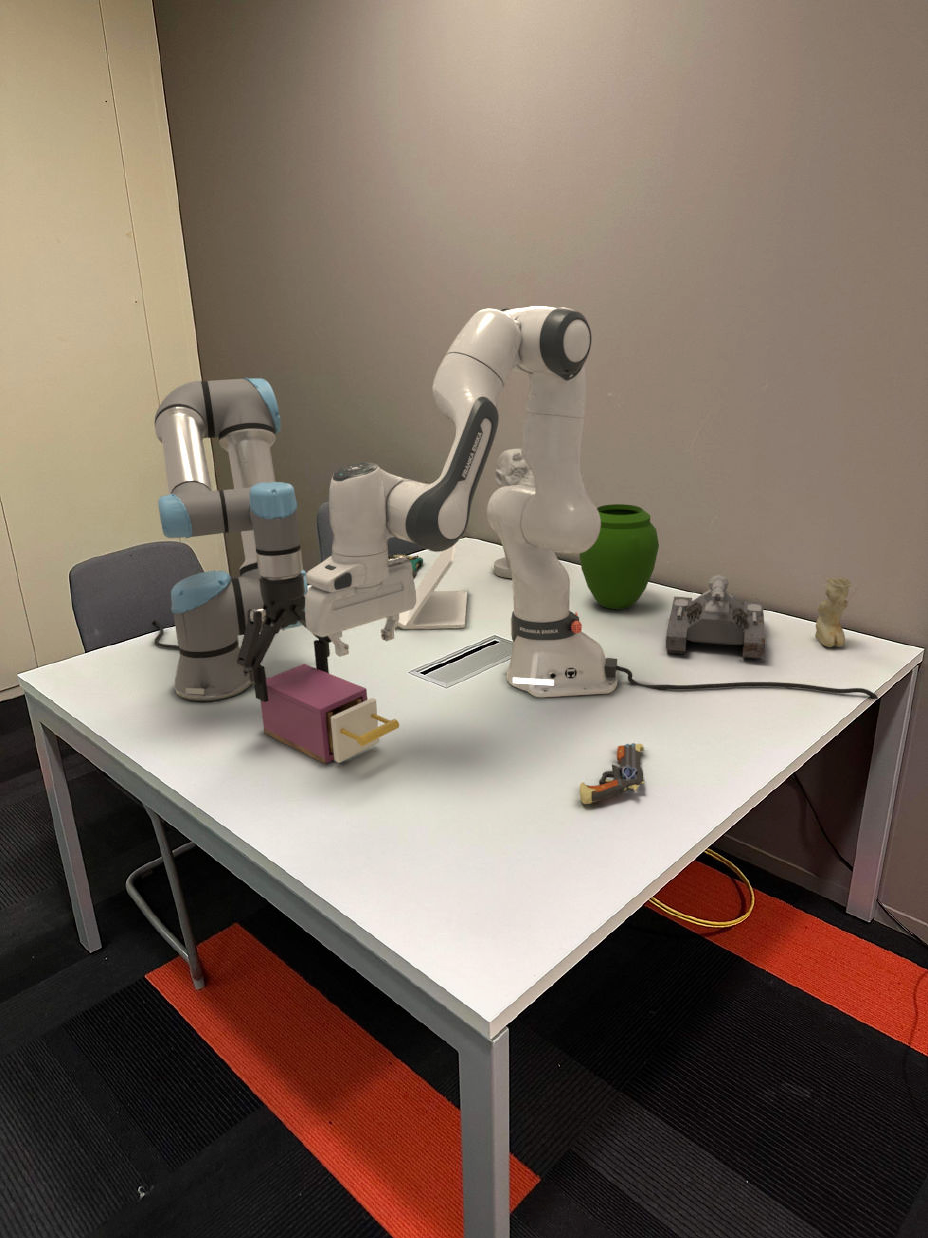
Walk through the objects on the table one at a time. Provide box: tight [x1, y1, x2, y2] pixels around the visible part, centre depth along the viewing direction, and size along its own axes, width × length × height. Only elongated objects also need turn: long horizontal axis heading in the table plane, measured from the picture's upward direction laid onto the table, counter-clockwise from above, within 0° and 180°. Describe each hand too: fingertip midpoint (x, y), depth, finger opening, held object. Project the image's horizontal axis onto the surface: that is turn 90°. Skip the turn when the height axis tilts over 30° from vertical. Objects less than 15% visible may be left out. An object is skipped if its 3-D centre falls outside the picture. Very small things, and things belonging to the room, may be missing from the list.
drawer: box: [326, 697, 400, 764], centre depth 148 cm, size 22×9×8 cm, turn 48°
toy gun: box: [579, 742, 645, 805], centre depth 138 cm, size 3×19×10 cm
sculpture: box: [814, 576, 852, 648], centre depth 185 cm, size 6×7×15 cm
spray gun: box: [388, 553, 424, 576], centre depth 246 cm, size 4×17×15 cm
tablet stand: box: [396, 542, 468, 630], centre depth 211 cm, size 18×25×17 cm
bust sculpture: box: [485, 448, 535, 579], centre depth 231 cm, size 16×24×35 cm
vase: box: [578, 503, 660, 610], centre depth 210 cm, size 20×20×24 cm
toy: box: [665, 574, 766, 660], centre depth 189 cm, size 25×20×15 cm
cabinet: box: [259, 663, 368, 765], centre depth 152 cm, size 17×10×10 cm, turn 48°
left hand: (293, 686), depth 154 cm, fingers open, 13 cm apart
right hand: (365, 647), depth 141 cm, fingers open, 8 cm apart
